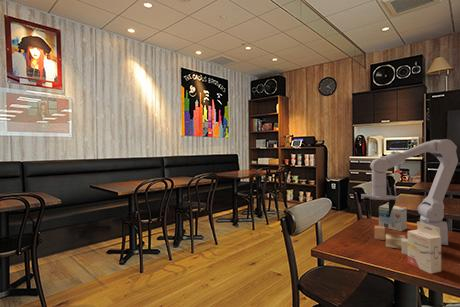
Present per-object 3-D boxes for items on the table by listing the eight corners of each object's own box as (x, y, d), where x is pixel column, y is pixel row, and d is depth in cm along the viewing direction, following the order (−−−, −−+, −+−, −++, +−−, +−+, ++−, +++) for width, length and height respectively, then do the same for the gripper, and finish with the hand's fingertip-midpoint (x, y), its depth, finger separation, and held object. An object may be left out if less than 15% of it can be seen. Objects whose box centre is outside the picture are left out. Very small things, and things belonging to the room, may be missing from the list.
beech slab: (405, 244, 112) (405, 235, 112) (406, 249, 106) (405, 240, 106) (386, 241, 116) (385, 233, 116) (385, 246, 110) (385, 238, 110)
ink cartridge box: (406, 263, 94) (406, 222, 94) (417, 261, 95) (416, 220, 95) (431, 274, 86) (430, 229, 86) (442, 271, 87) (441, 227, 87)
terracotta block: (385, 237, 121) (384, 226, 121) (384, 240, 117) (384, 229, 117) (375, 236, 123) (374, 225, 123) (374, 238, 119) (374, 227, 119)
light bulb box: (378, 226, 137) (378, 205, 137) (384, 224, 141) (384, 203, 141) (401, 231, 128) (401, 209, 128) (407, 228, 132) (407, 207, 132)
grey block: (413, 252, 104) (413, 239, 104) (414, 256, 100) (414, 242, 100) (401, 250, 106) (401, 238, 106) (401, 254, 102) (401, 241, 102)
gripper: (360, 186, 120) (360, 215, 120) (398, 187, 112) (398, 219, 113) (361, 184, 126) (362, 212, 126) (397, 185, 118) (398, 215, 119)
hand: (379, 215), depth 120 cm, fingers open, 7 cm apart
